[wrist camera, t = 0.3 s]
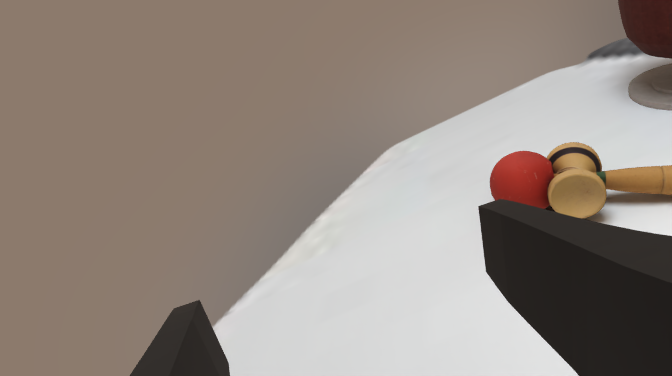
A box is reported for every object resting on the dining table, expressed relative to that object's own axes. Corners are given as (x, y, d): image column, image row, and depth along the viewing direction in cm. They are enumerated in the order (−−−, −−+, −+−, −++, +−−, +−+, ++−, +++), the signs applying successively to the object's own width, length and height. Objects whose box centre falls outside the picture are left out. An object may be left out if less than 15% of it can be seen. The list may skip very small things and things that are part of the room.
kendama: (699, 177, 41) (492, 176, 48) (721, 121, 37) (490, 129, 43) (725, 243, 36) (488, 232, 42) (754, 187, 32) (487, 184, 38)
